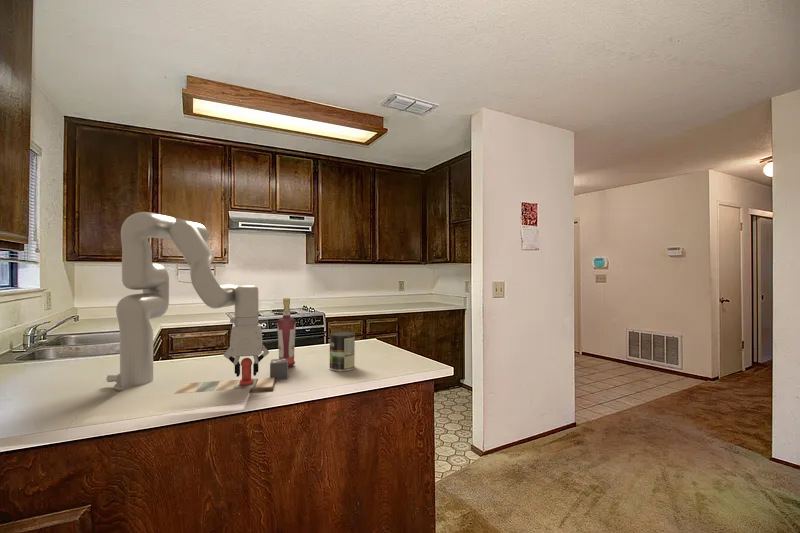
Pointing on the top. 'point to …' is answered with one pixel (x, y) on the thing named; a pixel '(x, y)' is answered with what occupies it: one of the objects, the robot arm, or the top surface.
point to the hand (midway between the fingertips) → (246, 374)
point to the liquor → (286, 334)
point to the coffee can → (342, 351)
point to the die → (279, 368)
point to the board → (229, 386)
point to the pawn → (246, 372)
